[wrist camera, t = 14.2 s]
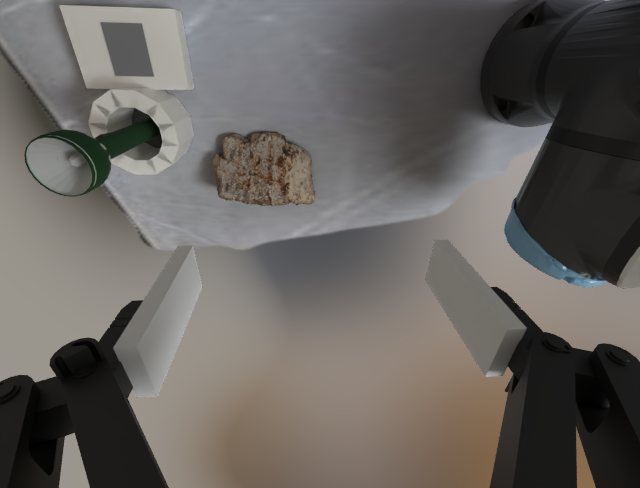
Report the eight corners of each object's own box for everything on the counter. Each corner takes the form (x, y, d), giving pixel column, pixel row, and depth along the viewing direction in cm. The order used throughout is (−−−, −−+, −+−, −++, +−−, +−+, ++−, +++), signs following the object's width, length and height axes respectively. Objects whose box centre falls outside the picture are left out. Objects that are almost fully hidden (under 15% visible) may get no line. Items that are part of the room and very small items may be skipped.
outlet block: (181, 12, 35) (160, 2, 30) (206, 160, 44) (194, 174, 39) (73, 8, 35) (31, -3, 29) (121, 160, 43) (96, 174, 38)
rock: (217, 194, 47) (208, 210, 42) (212, 125, 42) (201, 134, 37) (313, 201, 49) (315, 216, 44) (319, 135, 44) (322, 144, 39)
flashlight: (163, 99, 40) (64, 125, 23) (183, 137, 42) (108, 186, 25) (128, 112, 40) (6, 147, 23) (151, 149, 43) (55, 205, 26)
